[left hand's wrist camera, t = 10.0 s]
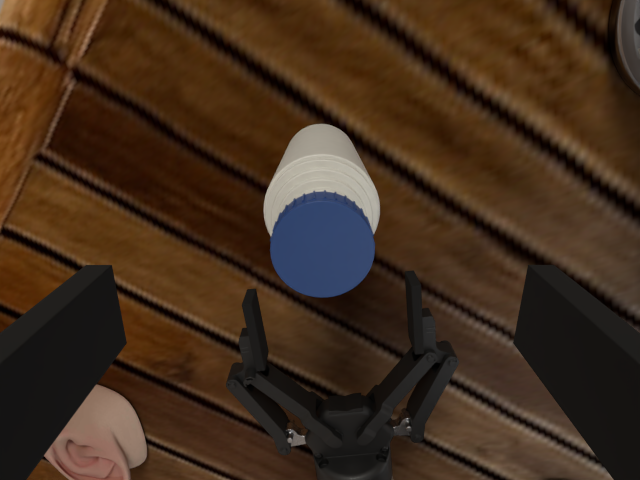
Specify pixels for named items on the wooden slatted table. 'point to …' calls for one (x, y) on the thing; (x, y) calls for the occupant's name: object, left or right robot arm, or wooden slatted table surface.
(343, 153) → the bottle
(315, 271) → the cap
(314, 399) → the right robot arm
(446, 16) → the wooden slatted table surface
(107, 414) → the anatomical model
